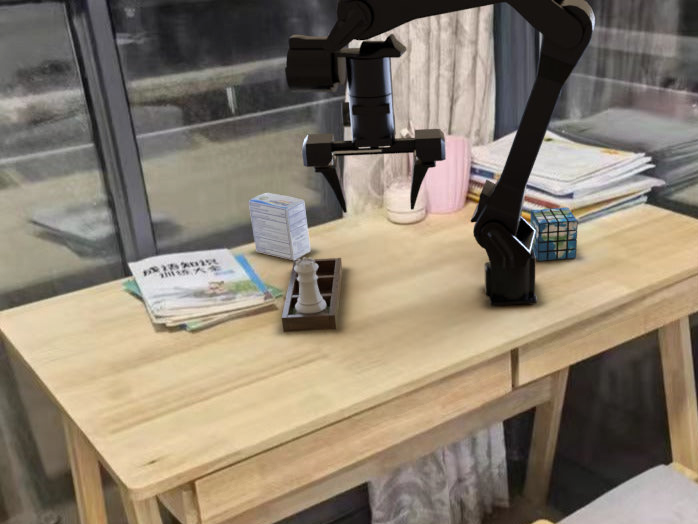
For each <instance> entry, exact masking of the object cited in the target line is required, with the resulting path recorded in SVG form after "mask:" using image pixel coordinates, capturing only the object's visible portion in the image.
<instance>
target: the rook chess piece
mask: <svg viewBox="0 0 698 524" xmlns="http://www.w3.org/2000/svg"><path fill="white" fill-rule="evenodd" d="M308 259H309V260H307V256H302V259H301V257H300V258H298V259H296V260H297V261H296V266H295V267H294V270H295V271H296V272H297V273H298V278H297V280H298V281H299V298H298V299H297V300H298V302H297V303H296V305H295V309H296V310H297V311H296V313H295V314H296V315H303V314H323V313H327V312H328V310H327V308H326V306H327V305H326V302H325V300H323V297H322V296H321V295H320V293H319V289H318V285H317V279H318V276H317V275H316V271H317V269H318V265H317V264H316V263H315V259H316V258H313V257H308ZM301 260H303V261H301Z"/></svg>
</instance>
